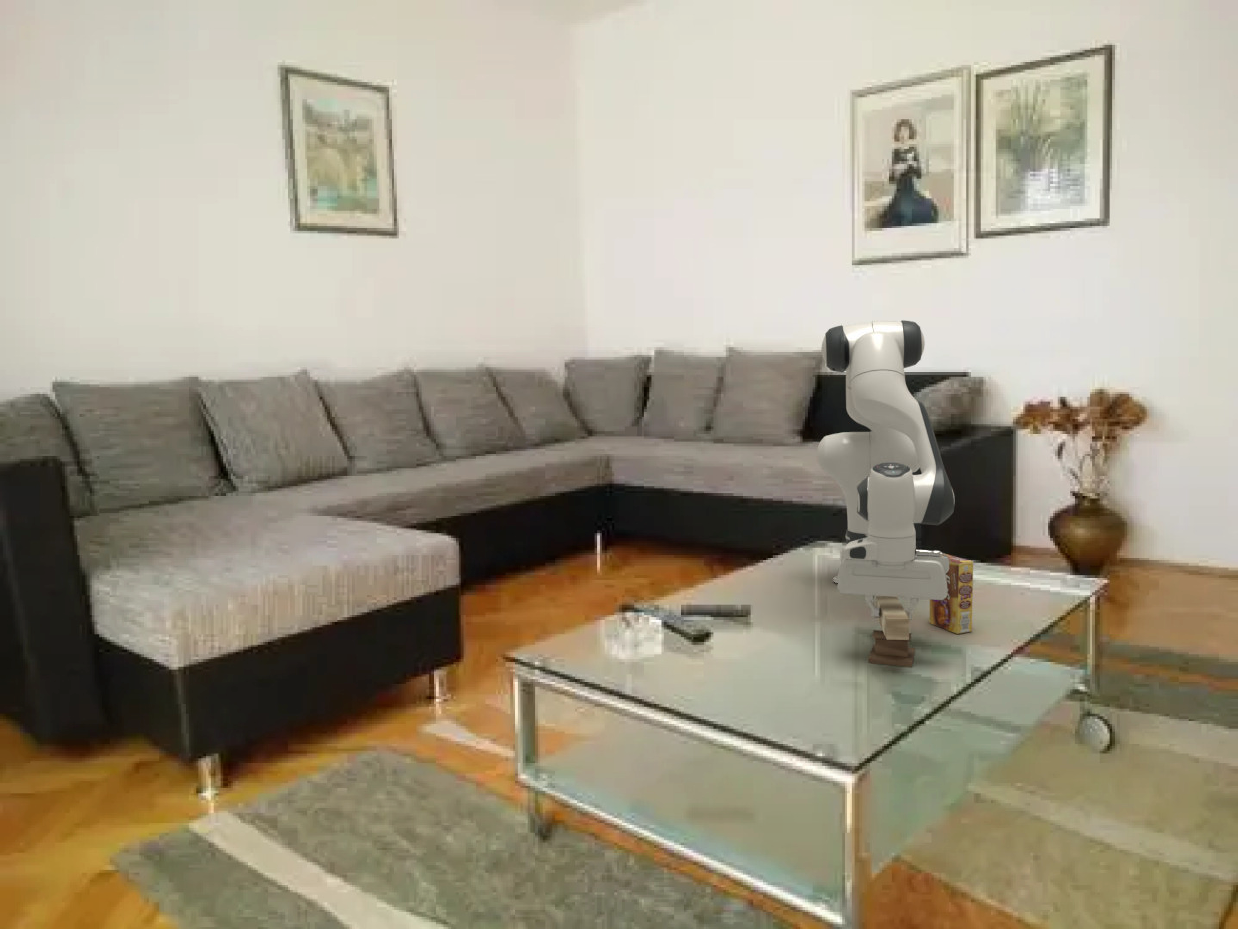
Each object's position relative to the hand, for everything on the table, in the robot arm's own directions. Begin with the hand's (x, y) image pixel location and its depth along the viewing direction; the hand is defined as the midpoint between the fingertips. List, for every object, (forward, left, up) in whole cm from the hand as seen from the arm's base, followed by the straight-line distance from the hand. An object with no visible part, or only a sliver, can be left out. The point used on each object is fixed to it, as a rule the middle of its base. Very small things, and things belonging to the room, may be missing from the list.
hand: (891, 618), depth 168 cm
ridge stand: (0, 0, -8) cm, 8 cm away
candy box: (-22, +10, -8) cm, 26 cm away
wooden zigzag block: (0, 0, -2) cm, 2 cm away
